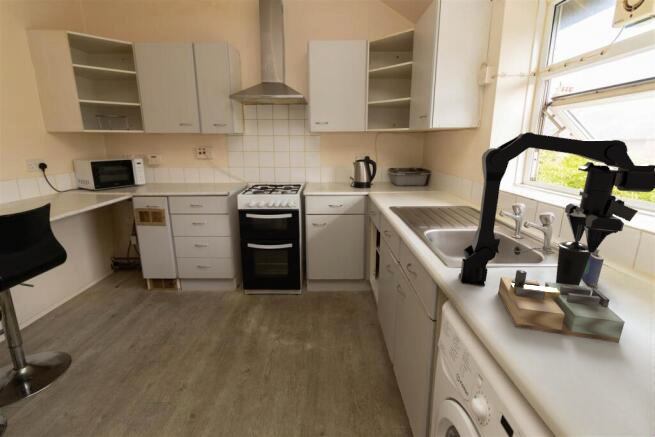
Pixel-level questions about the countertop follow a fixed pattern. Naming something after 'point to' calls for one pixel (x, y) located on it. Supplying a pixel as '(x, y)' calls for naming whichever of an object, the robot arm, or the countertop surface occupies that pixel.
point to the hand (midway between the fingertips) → (583, 246)
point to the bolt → (520, 282)
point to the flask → (593, 269)
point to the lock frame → (562, 310)
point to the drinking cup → (572, 261)
